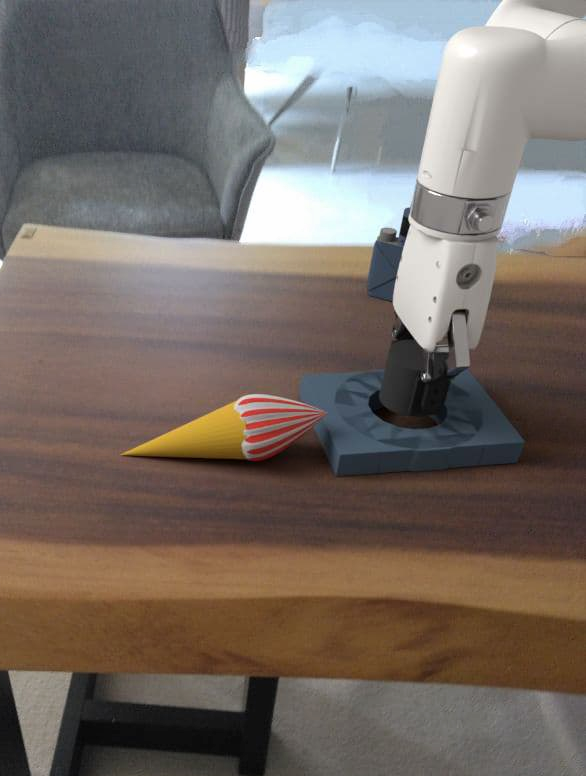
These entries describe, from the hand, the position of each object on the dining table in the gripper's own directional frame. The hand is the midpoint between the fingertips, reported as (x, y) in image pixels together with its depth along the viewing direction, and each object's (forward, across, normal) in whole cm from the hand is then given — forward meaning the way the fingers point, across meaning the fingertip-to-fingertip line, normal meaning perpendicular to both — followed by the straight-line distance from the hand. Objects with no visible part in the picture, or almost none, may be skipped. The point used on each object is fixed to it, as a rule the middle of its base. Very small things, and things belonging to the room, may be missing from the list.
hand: (412, 393), depth 77 cm
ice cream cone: (+4, -2, +19) cm, 20 cm away
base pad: (+4, 0, 0) cm, 4 cm away
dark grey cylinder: (+1, 0, 0) cm, 1 cm away
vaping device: (+4, +29, -8) cm, 30 cm away
